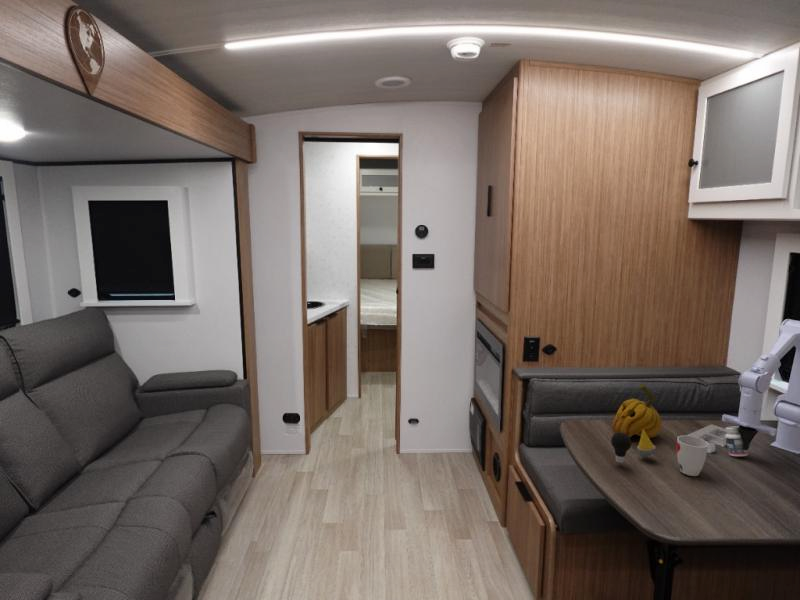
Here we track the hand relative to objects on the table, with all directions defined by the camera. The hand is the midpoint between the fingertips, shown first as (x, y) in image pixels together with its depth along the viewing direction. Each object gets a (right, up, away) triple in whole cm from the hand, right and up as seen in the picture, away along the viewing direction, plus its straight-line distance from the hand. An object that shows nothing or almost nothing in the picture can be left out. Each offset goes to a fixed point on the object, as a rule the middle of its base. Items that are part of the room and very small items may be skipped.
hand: (745, 449), depth 155 cm
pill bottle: (-1, -3, +2) cm, 3 cm away
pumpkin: (-32, -2, +17) cm, 36 cm away
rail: (-2, -2, +13) cm, 14 cm away
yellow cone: (-31, -3, +1) cm, 31 cm away
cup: (-23, -5, -8) cm, 25 cm away
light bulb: (-42, -4, -2) cm, 42 cm away
